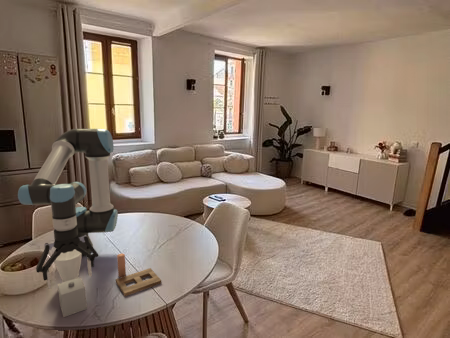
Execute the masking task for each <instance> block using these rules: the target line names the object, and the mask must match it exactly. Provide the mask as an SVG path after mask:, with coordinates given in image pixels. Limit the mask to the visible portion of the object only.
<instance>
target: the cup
mask: <svg viewBox="0 0 450 338" xmlns="http://www.w3.org/2000/svg"><path fill="white" fill-rule="evenodd" d="M82 257H83V256H82V253H80V252H79V251H77V250H76V249H74V250H73V251H71V252H66V253H61V254H60V255H59V256H58V257H57V258H56V260H55V261H54V264H55V267H56V270H57V273H58V274H59V276H60V279H61V283H63V282H66V281H70V280H73V279H76V278H80V277H79V275H80V268H81V265H82Z"/></svg>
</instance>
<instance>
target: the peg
mask: <svg viewBox="0 0 450 338" xmlns="http://www.w3.org/2000/svg"><path fill="white" fill-rule="evenodd" d="M116 256H117V258H116V260H117V272H118V273H117V275H118V277H119V278H121V277H124V276H127V274H126V273H127V272H126V255H125V253H118V254H117V255H116Z"/></svg>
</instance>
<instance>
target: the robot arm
mask: <svg viewBox="0 0 450 338" xmlns="http://www.w3.org/2000/svg"><path fill="white" fill-rule="evenodd" d="M113 152H114V139H113V136H112V134H111V132H110V131H109V130H108V129H106V128H72V129H70V130H67V131H65V132H64V133H62V134H61V135H59V137H57V138H56V139H55V140H54V142H53V143H52V145H51V151H50V153H49V154H48V156H47V158H46V159H45V161H44V163H43V165H42V166H41V167H40V169H39V171H38V173H37V174H36V175H35V177H34V179H33V181H32V182H31V184H25V185H24V184H23V185H22V186H20V187H19V188H18V192H17V199H18V201H19V203H20V204H21V205H28V206H31V205H32V206H38V205H40V206H41V205H50V207H51V214H52V215H51V217H52V218H51V219H52V226H53V227H52V228H53V237H54V241H53V243H49V242H45V243H44V250H43V252H42V254H41V256H40V258H39V261H38V263H37V265H36V267H35V271H36V273H42V277H43V278H42V279H43V280H44V281H47V287H48V289H49V290H50V289H52V284H51V275H50V268H51V266H52V265H53V264H54V263H55V260H56V258H57V257H58V256H59V255H60V254H61V253H66V252H71V251H73V250H74V249H76V250H77V251H79V252H80V253H82V257H84V256H85V257H86V261H87V274H88V276H89V277H90V278H91V277H92V276H93V275H92V274H93V272H92V268H94V266H95V264H94V263H95V261H94V260H95V258H98V257H99V254H98V252H97V250H96V249H95V247H94V245H93V241H92V240H91V238H90V235H89V234H92V233H93V234H95V233H111V232H114V231H115V229H116V228H117V227H116V226H117V222H118V213H119V212H118V209H116V208H114V204H112V203H111V194H110V193H111V192H110V179H109V166H108V165H109V162H108V159H109V158H110V157H111V153H113ZM77 153H84V157H85V158H86V159H87V160H88V166H89V167H88V168H89V178H90V180H89V181H90V190H91V201H92V202H91V203H92V205H91V206H90V207H89V210H87V207H85V206H78V207H76V206H77V204H78V203H80V202H82V200H84V198H85V196H86V194H87V191H88V190H87V188H86V186H85V184H83V183H82V182H80V181H73V182H70V183H59V184H58V183H57V182H58V180H59V179H60V178H59V177H60V176H61V174H62V172H63V170H64V169H65V167H66V164H67V162H68V161H69V159H70V158H71V157H73V156H74V154H77ZM53 248H54V251H53V253H52V255H50V257H49V258H48V260H47V257H48V255H49V254H50V251H51V250H52V249H53ZM91 253H92V254H91ZM46 260H47V261H46Z"/></svg>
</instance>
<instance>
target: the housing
mask: <svg viewBox="0 0 450 338" xmlns="http://www.w3.org/2000/svg"><path fill="white" fill-rule="evenodd" d="M57 289H58V290H57V291H58V299H59V300H58V301H59V306H60V309H61V314H62V318H65V317H68V316H71V315H74V314H77V313H80V312H82V311H85V310H88V305H87V304H88V303H87V290H86V285H85V283H84V281H83V279H82V277H79V278H76V279H73V280H70V281H66V282H63V283H62V282H60V283H57Z"/></svg>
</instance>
